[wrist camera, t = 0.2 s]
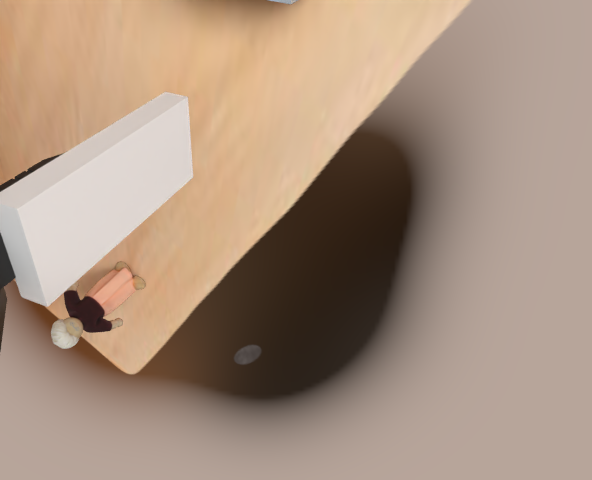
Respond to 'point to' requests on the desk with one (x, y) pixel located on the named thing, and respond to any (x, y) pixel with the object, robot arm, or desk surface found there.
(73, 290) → the grandmother figurine
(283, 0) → the grey cubby shelf
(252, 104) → the desk surface
